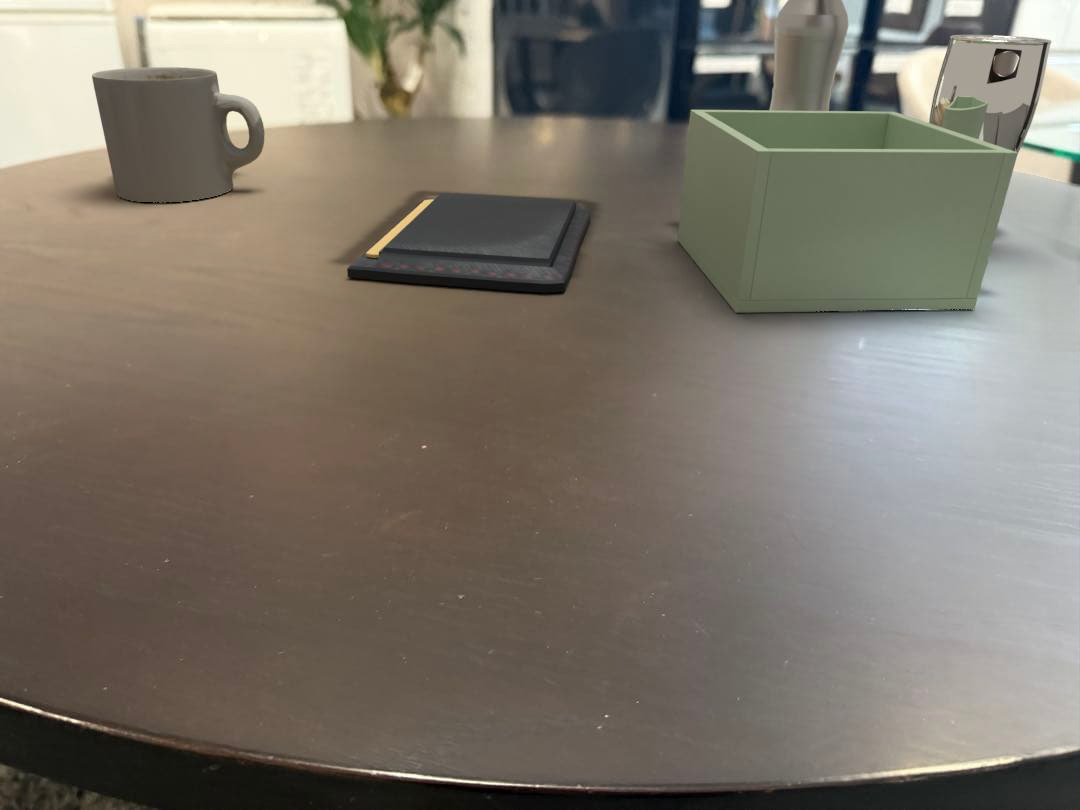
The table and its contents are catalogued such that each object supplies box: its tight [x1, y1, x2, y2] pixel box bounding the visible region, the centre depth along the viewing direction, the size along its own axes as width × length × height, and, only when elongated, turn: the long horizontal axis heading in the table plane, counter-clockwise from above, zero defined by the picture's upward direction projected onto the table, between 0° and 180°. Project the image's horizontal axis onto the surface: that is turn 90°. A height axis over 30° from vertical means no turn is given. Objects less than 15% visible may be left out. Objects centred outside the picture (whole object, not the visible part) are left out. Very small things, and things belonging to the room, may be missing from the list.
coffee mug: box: [91, 66, 265, 204], centre depth 74 cm, size 13×10×10 cm
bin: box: [677, 109, 1019, 314], centre depth 57 cm, size 16×16×10 cm
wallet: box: [346, 192, 591, 294], centre depth 63 cm, size 20×2×15 cm
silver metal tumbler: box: [928, 34, 1053, 156], centre depth 63 cm, size 7×7×15 cm
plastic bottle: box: [768, 0, 850, 111], centre depth 79 cm, size 6×7×20 cm
